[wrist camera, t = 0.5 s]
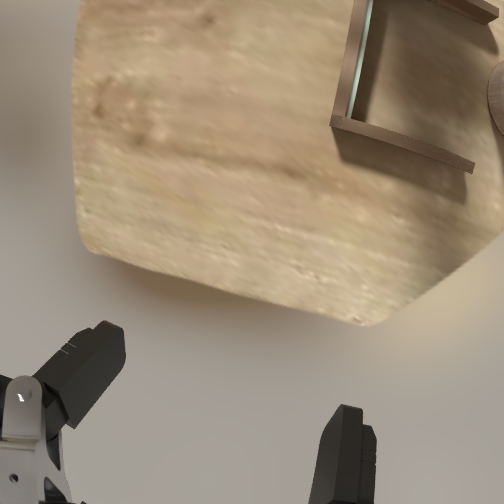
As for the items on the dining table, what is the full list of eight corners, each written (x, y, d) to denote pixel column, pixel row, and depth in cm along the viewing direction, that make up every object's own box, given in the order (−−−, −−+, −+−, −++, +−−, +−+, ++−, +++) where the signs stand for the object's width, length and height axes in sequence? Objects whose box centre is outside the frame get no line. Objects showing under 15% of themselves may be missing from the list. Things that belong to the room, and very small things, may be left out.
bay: (359, -29, 23) (361, -44, 19) (485, 17, 21) (498, 8, 17) (330, 125, 32) (329, 125, 28) (458, 167, 29) (472, 174, 26)
